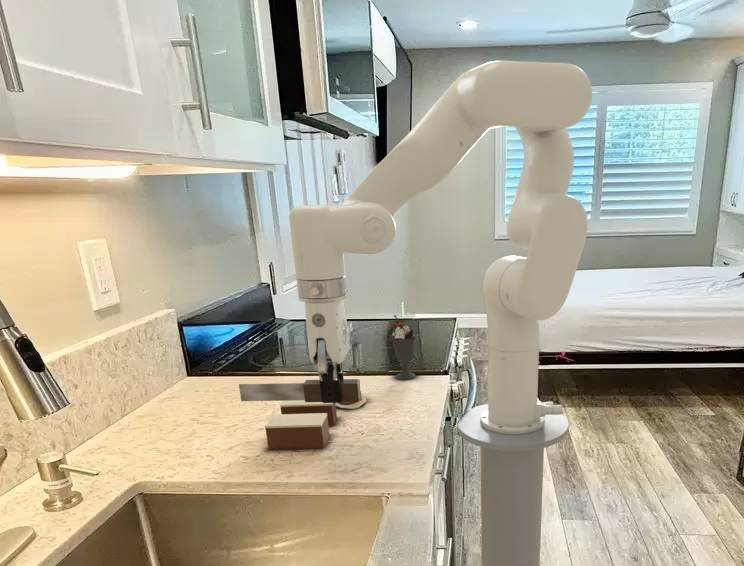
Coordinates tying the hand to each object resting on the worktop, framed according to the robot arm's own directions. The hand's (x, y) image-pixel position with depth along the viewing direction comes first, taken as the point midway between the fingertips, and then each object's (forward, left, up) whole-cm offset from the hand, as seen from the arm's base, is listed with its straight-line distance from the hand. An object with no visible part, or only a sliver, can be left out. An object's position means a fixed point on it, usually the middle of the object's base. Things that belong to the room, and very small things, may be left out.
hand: (333, 398), depth 96 cm
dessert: (+2, -25, -11) cm, 27 cm away
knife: (+6, 0, 0) cm, 6 cm away
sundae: (-9, -42, -11) cm, 44 cm away
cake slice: (+8, -15, -11) cm, 20 cm away
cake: (+8, -6, -11) cm, 15 cm away
